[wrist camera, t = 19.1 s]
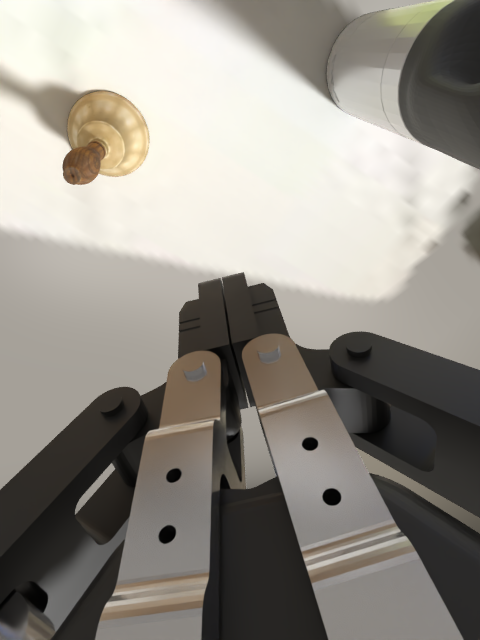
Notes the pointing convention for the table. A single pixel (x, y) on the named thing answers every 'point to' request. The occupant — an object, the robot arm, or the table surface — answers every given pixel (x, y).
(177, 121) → the table surface
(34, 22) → the table surface
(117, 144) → the hand bell
